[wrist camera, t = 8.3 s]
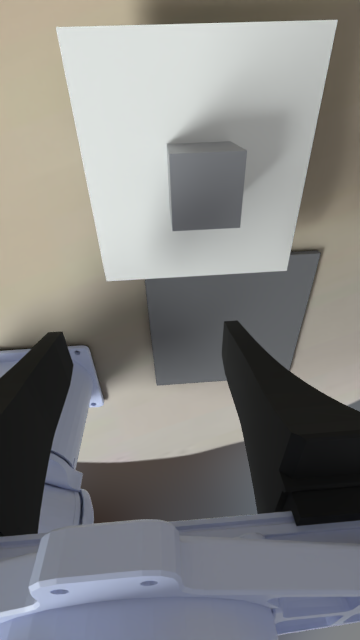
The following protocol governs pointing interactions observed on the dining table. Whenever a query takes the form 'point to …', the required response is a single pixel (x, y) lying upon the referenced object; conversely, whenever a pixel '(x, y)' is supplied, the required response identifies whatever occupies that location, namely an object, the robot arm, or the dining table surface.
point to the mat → (225, 317)
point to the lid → (196, 140)
